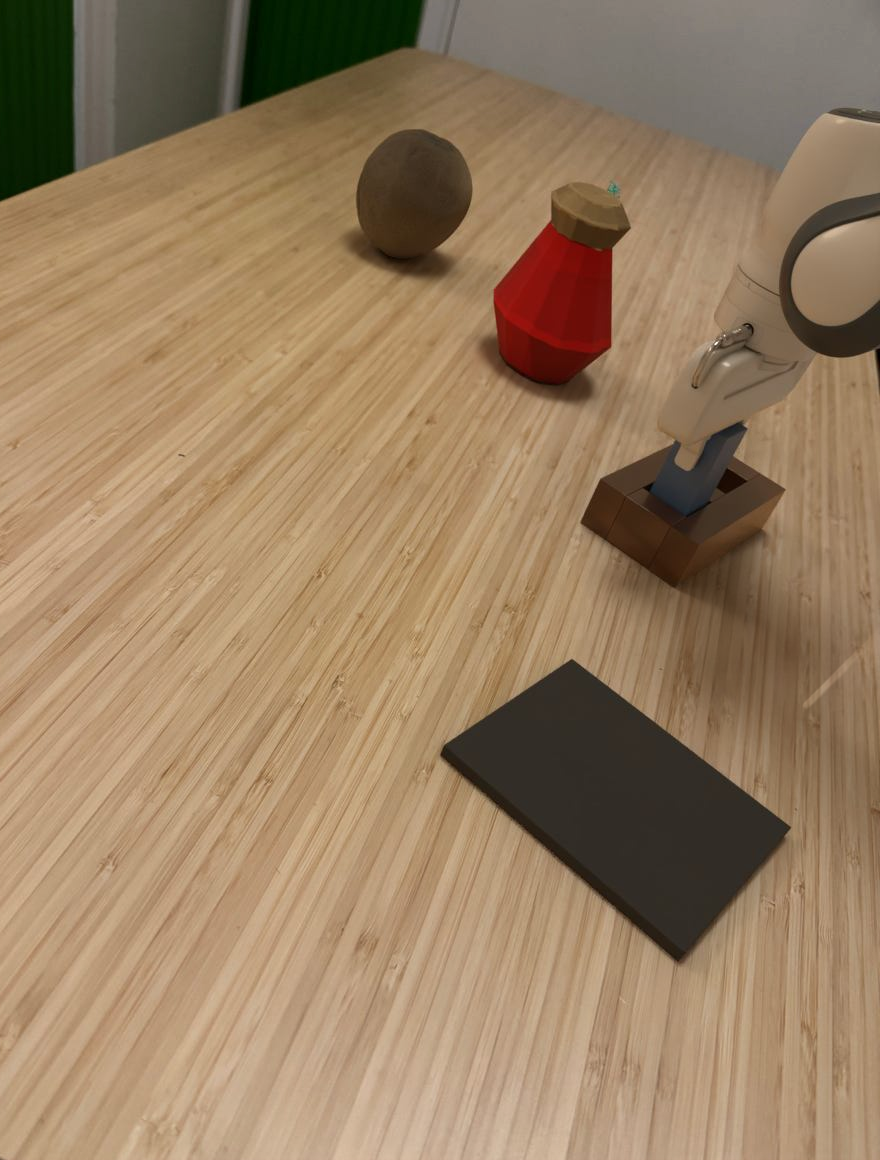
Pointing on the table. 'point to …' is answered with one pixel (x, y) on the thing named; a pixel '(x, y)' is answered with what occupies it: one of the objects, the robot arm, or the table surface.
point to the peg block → (679, 517)
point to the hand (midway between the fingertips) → (699, 458)
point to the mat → (620, 802)
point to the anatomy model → (613, 189)
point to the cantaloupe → (413, 193)
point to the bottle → (562, 288)
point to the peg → (697, 472)
